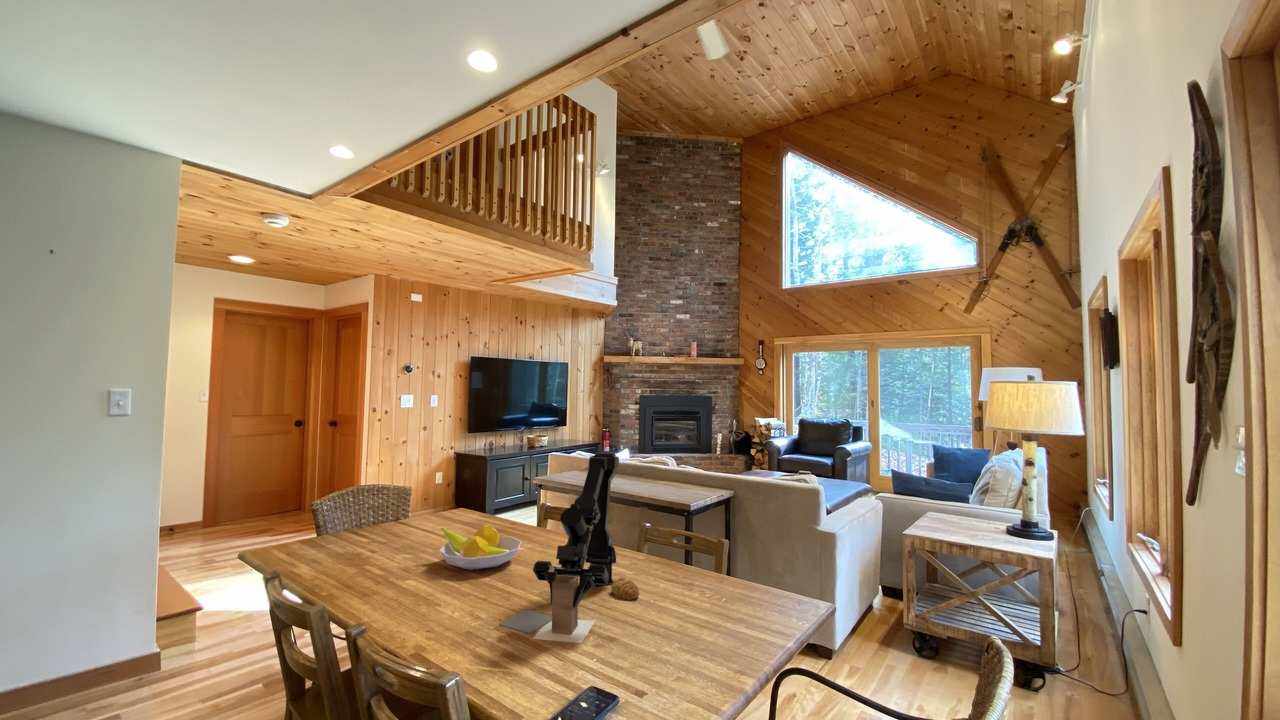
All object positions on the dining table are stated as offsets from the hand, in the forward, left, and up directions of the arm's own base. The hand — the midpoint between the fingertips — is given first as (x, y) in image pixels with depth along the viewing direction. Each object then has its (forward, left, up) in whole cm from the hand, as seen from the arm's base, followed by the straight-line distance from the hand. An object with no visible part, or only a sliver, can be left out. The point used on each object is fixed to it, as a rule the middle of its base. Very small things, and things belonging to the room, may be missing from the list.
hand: (563, 606), depth 133 cm
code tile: (-1, -1, -7) cm, 7 cm away
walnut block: (-1, -1, -6) cm, 6 cm away
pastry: (-23, -17, -7) cm, 30 cm away
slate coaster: (+7, -9, -7) cm, 13 cm away
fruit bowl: (+12, -63, -7) cm, 65 cm away
